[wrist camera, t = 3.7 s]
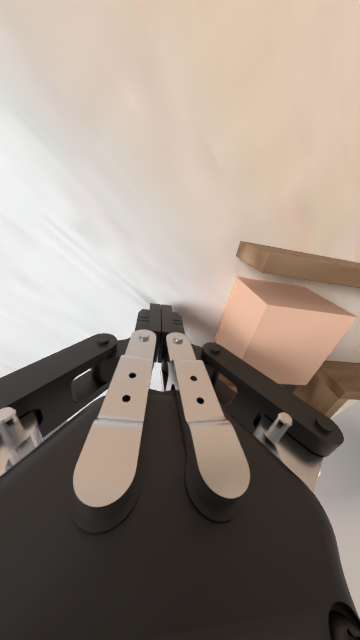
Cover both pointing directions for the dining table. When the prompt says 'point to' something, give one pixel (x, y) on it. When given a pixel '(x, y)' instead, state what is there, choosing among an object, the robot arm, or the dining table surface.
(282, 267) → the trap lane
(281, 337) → the block
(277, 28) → the dining table surface
